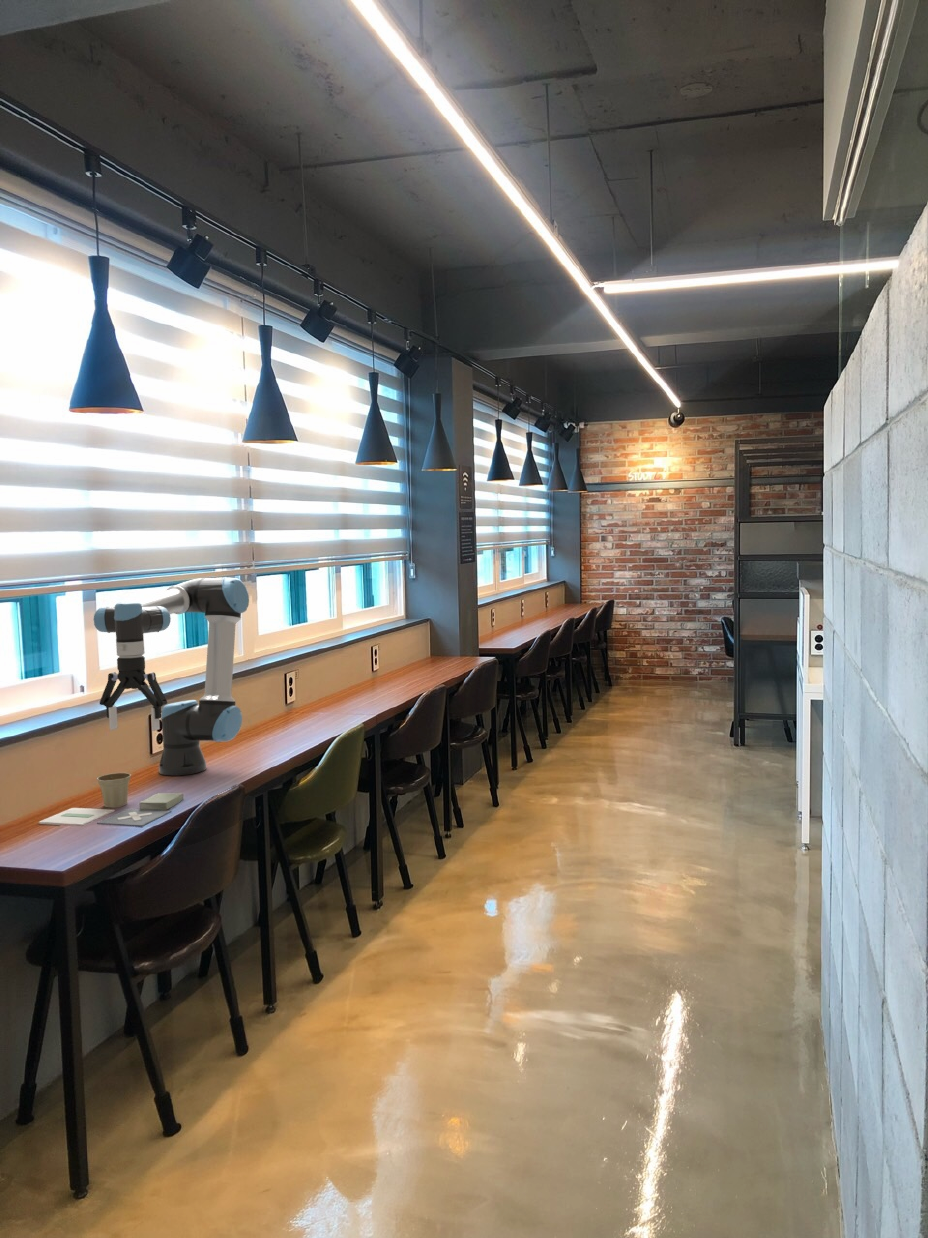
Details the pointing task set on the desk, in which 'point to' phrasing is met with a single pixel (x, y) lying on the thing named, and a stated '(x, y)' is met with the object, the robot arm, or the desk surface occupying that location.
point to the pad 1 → (76, 816)
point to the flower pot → (114, 789)
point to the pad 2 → (134, 817)
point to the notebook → (161, 801)
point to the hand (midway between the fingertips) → (134, 729)
